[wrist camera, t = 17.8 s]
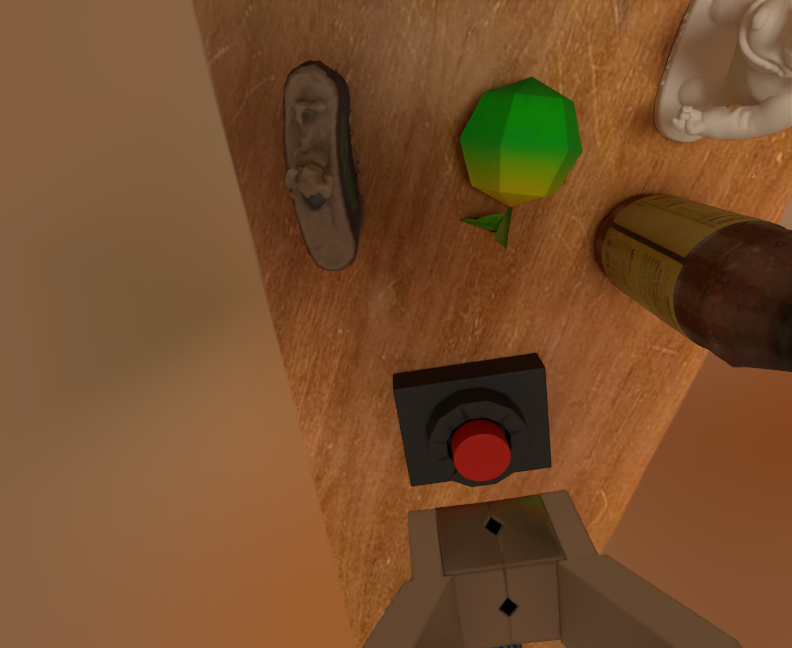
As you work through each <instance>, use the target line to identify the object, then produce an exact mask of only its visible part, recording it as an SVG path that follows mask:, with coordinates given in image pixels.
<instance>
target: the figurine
mask: <svg viewBox="0 0 792 648" xmlns="http://www.w3.org/2000/svg"><path fill="white" fill-rule="evenodd" d="M683 18H684V19H682V24H680V27H679V32H678V33H677V37H676V39H675V42H674V44H673V47H672V50H671V52H670V53H671V54H670V56H669V58H668V60H667V61H668V62H667V64H666V67H665V70H664V72H663V75H662V77H661V78H662V79H661V80H660V83H659V85H660V86H659V89H658V92H657V96H656V100H655V107H654V121H655V126H656V128H657V130H658V132H659V133H660V134H661V135H662V136H663V137H665V138H667V139H670V140H673V141H678V142H693V141H697V140H699V139H701V138H702V137H707V138H710V139H715V140H742V139H750V138H755V137H759V136H764V135H768V134H772V133H775V132H778V131H781V130H784V129H787V128H789V127H791V126H792V0H691V2H690V4H689V7H688V9H687V11H686V14H684V17H683ZM728 105H742V106H741V107H736V108H726V107H727V106H728Z"/></svg>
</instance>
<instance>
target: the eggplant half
mask: <svg viewBox="0 0 792 648" xmlns="http://www.w3.org/2000/svg"><path fill="white" fill-rule="evenodd" d="M350 100H351V99H350V94H349V85H348V84H347V82H346V81H345V80H344V79H343V77H342V76H340V75H339V74H338V72H337V70H335V71H333V70H332V69H330V68H329V67H328V66H326V65H324V64H323V63H322V62H321V61H311V60H310V61H307V62H305V63H303V64H301V65H299V66H298V67H296V68H294V69H293V70H292V71H291V72H290V73H289V74H288V77H287V80H286V82H285V85H284V95H283V106H284V110H283V121H284V127H283V145H284V157H285V163H286V177H285V186H286V187H287V188H289V189H290V194H289V195H290V196H291V199H292V202H293V205H294V208H295V213H296V217H297V220H298V223H299V227H300V230H301V233H302V236H303V239H304V242H305V245H306V247H307V250H308V253H309V255H310V256H311V257H312V259H313V261H314V262H315V264H316V265H317V266H319V267H320V268H322V269H324V270H328V271H341V270H343V269H345V268H346V267H348V266H349V265H351V264H352V262H353V261H354V260H355V258H356V255H357V250H358V243H359V234H360V230H361V227H362V224H363V222H364V215H365V213H364V207H363V202H364V199H363V195H362V194H360V191H359V185H358V181H357V180H358V173H359V168H358V164H359V161H358V159H357V153H356V152H355V151H356V150H354V147H353V146H352V144H351V135H352V134H353V133H354V132H353V131H352V128H351V126H350V123H349V116H350V112H351V111H352V110H351V109H350Z"/></svg>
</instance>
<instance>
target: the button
mask: <svg viewBox="0 0 792 648" xmlns="http://www.w3.org/2000/svg"><path fill="white" fill-rule="evenodd" d="M451 449H452V454H453V460H454V465H455V467H456V469H457V471H458V472H459V473H460V474H461V475H462V476H464V477H465V478H467V479H470V480H474V481H487V480H491V479H494V478H496V477H498V476H499V475H501V474H502V473H503V472H504V471H505V470H506V469H507V467H508V465H509V463H510V459H511V452H510V448H509V446H508V443H507V440H506V437H505V434H504V432H503V430H502V429H501V428H500V427H499V426H498V425H497V424H496V423H494V422H492V421H489V420H484V419H475V420H471V421H468V422H466V423H464V424H462V425H461V426H460V427H459V428H458V429H457V430H456V431H455V432H454V434H453V436H452V440H451Z"/></svg>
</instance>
